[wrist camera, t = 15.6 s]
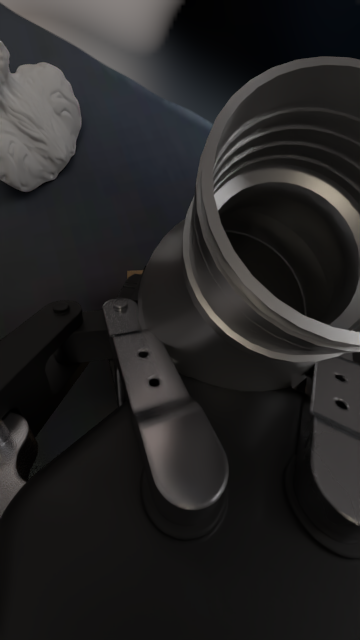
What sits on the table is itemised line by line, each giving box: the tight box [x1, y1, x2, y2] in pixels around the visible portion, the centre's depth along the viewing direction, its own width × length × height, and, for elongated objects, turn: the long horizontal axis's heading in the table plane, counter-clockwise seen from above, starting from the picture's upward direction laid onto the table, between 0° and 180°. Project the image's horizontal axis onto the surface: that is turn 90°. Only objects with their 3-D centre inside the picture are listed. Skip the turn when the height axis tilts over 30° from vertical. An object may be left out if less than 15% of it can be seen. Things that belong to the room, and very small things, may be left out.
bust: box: [0, 40, 81, 192], centre depth 21 cm, size 12×8×11 cm
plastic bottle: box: [138, 57, 360, 391], centre depth 12 cm, size 6×7×20 cm
